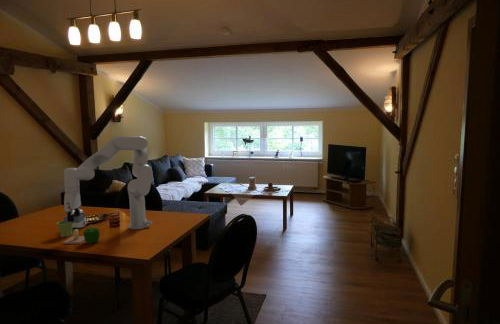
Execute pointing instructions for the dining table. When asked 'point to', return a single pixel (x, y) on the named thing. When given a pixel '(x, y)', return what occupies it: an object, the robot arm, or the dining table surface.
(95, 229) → the bell pepper
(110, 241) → the dining table surface
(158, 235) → the dining table surface
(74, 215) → the dark grey rectangular frame
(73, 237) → the keeper
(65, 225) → the plant pot
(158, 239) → the dining table surface
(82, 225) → the spread jar
